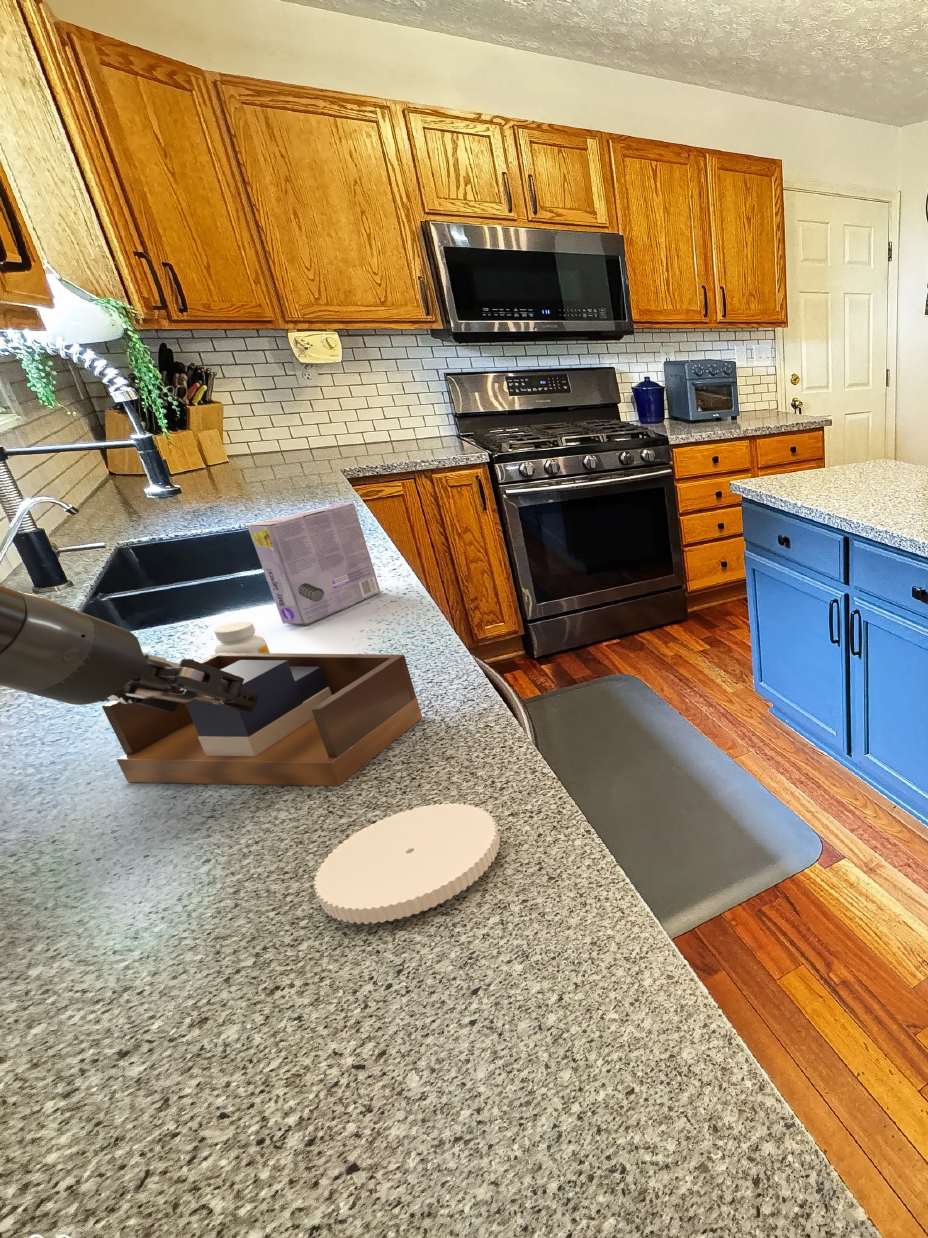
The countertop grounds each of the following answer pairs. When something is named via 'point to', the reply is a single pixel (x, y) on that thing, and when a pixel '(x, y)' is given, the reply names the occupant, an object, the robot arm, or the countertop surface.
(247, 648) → the supplement bottle
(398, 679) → the wooden tray
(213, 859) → the countertop surface
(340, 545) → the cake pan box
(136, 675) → the robot arm
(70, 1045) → the countertop surface
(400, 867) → the plastic lid
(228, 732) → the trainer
